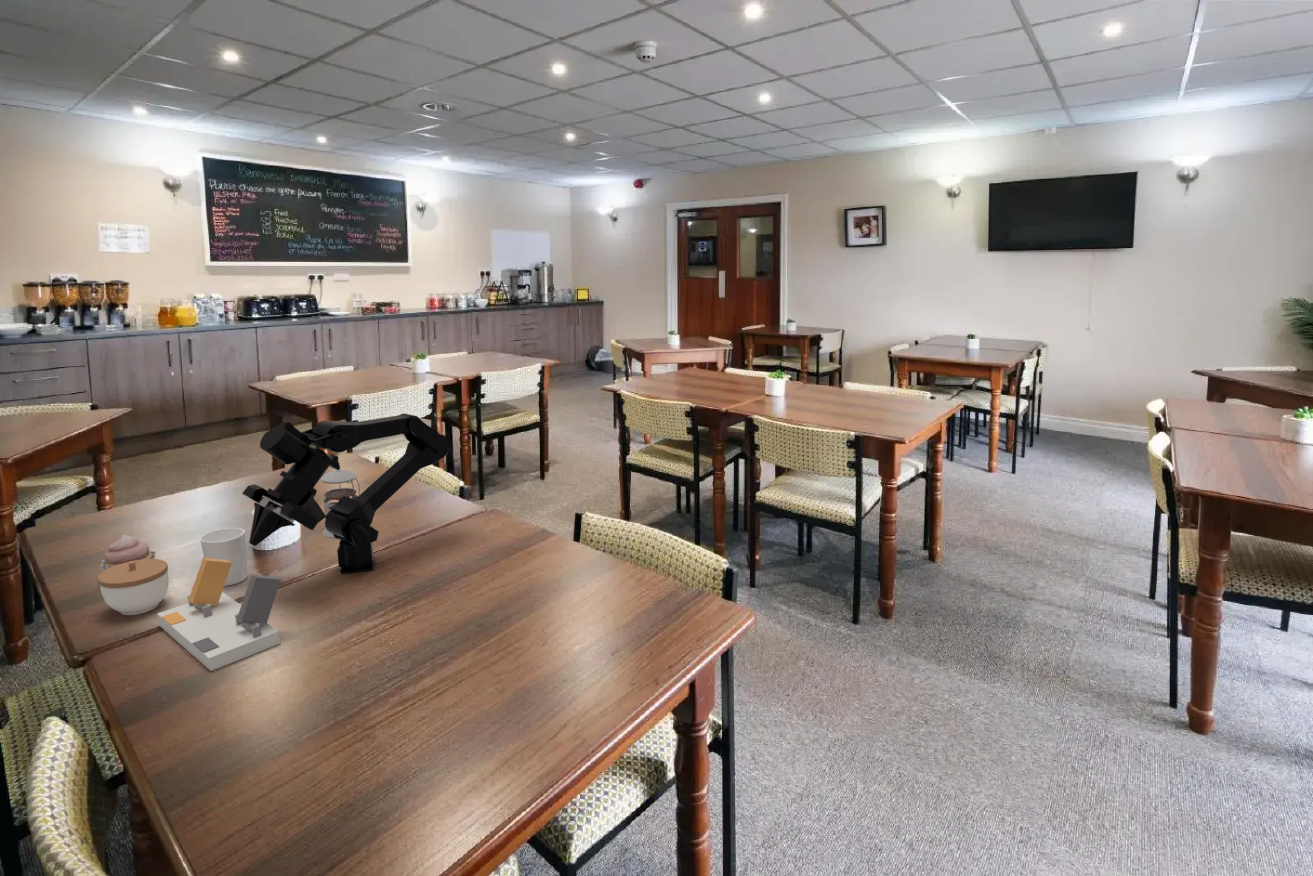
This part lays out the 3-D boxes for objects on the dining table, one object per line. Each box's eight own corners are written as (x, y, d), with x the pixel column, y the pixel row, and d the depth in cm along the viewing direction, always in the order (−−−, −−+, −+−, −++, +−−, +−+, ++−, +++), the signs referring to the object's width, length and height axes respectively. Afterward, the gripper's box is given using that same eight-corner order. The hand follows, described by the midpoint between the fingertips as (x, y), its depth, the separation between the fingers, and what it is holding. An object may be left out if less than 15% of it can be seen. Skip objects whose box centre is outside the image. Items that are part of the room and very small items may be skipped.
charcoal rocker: (255, 624, 127) (272, 574, 128) (268, 633, 124) (285, 582, 124) (230, 623, 123) (247, 571, 124) (243, 633, 120) (260, 580, 121)
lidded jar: (133, 593, 141) (125, 550, 138) (186, 595, 140) (179, 551, 138) (90, 620, 130) (80, 574, 128) (147, 622, 130) (138, 575, 128)
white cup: (231, 589, 143) (224, 543, 140) (197, 585, 144) (190, 540, 142) (259, 573, 150) (253, 529, 148) (227, 569, 152) (221, 526, 149)
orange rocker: (207, 605, 133) (224, 557, 134) (219, 614, 130) (236, 565, 131) (182, 604, 129) (199, 555, 130) (193, 613, 126) (211, 563, 127)
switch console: (224, 603, 137) (221, 583, 136) (280, 643, 124) (277, 621, 122) (159, 625, 129) (155, 604, 128) (210, 671, 115) (207, 648, 114)
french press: (313, 535, 170) (302, 435, 164) (342, 518, 181) (332, 424, 175) (350, 539, 169) (340, 438, 163) (377, 521, 180) (369, 426, 174)
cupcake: (133, 568, 152) (125, 524, 149) (170, 572, 150) (163, 528, 147) (92, 587, 143) (82, 541, 140) (130, 592, 141) (122, 545, 139)
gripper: (358, 506, 142) (309, 576, 136) (308, 485, 152) (261, 548, 146) (316, 479, 133) (263, 551, 128) (267, 458, 144) (215, 524, 138)
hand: (251, 544), depth 135 cm, fingers closed
